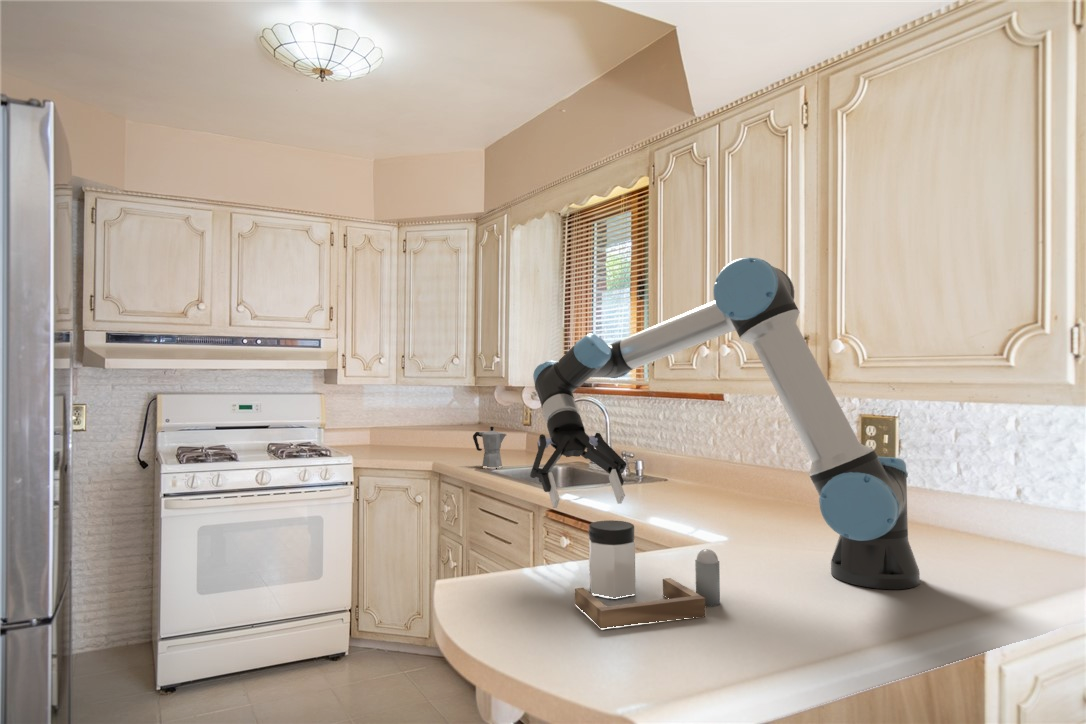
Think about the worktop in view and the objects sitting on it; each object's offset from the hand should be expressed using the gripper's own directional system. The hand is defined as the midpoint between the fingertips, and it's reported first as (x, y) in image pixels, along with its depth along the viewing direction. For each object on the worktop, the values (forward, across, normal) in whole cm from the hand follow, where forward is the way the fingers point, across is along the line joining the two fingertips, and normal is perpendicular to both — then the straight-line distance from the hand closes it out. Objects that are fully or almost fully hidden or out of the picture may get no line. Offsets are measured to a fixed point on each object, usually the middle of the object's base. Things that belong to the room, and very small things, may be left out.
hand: (589, 501), depth 130 cm
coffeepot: (-105, -18, -126) cm, 165 cm away
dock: (+24, 0, +4) cm, 25 cm away
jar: (+18, 0, -3) cm, 18 cm away
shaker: (+25, -13, +5) cm, 29 cm away
